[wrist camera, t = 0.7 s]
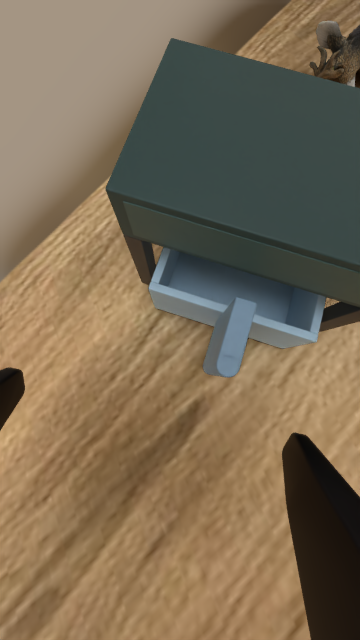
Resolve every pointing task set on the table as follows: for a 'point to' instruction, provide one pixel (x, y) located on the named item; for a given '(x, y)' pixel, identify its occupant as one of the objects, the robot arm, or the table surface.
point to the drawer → (234, 307)
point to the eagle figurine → (338, 53)
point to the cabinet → (246, 174)
